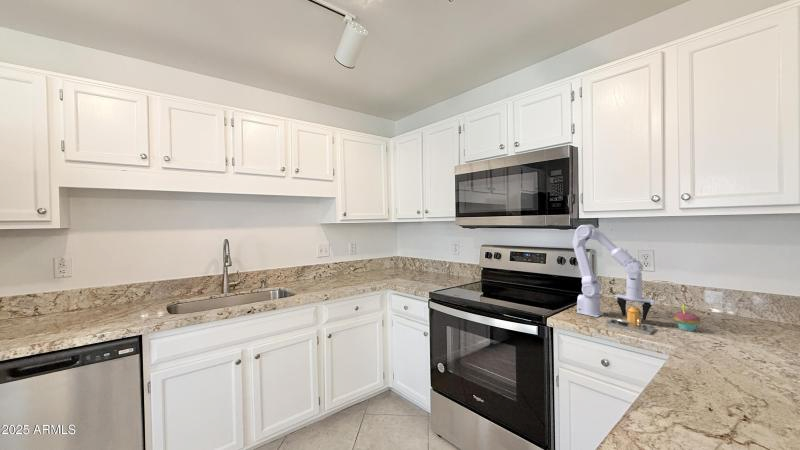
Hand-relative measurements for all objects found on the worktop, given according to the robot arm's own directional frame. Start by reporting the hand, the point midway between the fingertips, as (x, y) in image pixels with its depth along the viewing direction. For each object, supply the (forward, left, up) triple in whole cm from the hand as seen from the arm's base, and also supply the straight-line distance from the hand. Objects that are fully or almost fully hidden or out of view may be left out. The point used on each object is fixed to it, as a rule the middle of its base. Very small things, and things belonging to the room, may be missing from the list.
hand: (634, 317), depth 144 cm
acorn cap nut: (0, 0, -2) cm, 2 cm away
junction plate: (+1, -9, -2) cm, 9 cm away
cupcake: (+17, +5, -2) cm, 18 cm away
